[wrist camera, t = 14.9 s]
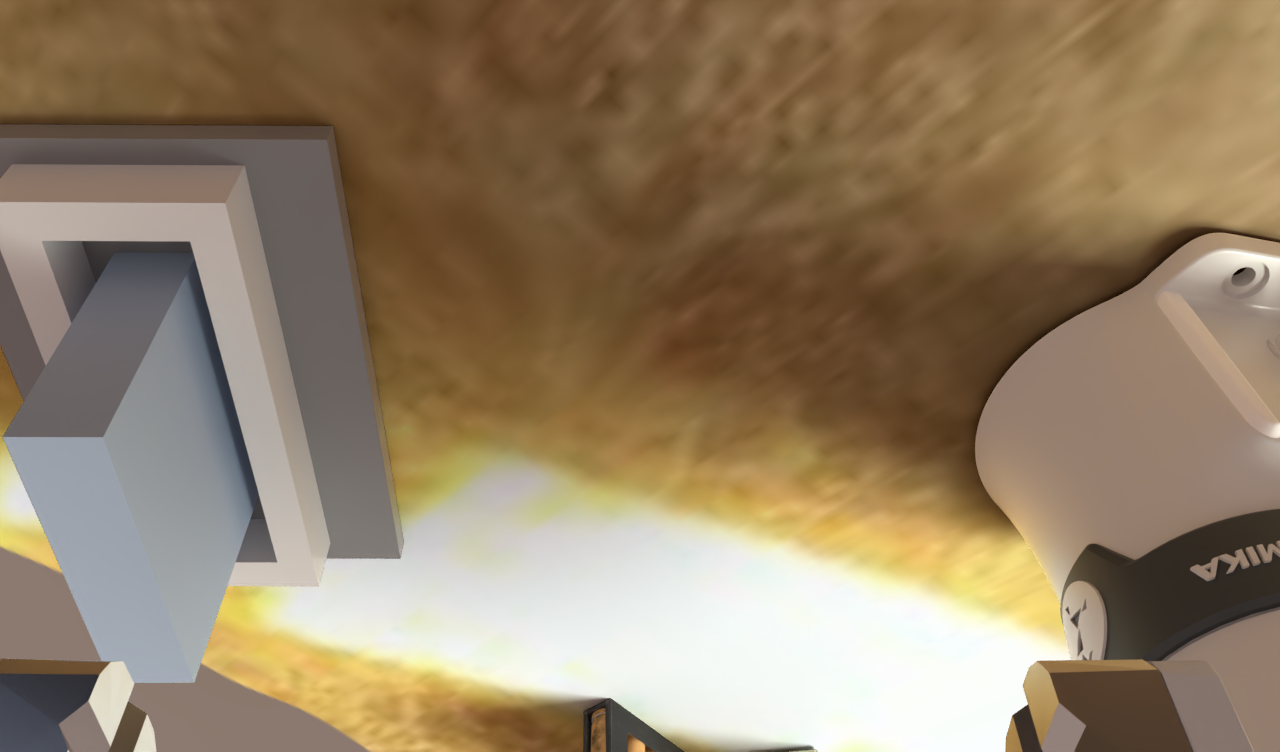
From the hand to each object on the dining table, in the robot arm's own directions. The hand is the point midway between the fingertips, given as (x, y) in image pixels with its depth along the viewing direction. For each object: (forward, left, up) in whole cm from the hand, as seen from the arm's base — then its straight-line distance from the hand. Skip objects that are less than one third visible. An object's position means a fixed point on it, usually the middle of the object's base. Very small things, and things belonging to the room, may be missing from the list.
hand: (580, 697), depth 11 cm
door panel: (+17, +21, -30) cm, 40 cm away
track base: (+17, +21, -31) cm, 41 cm away
